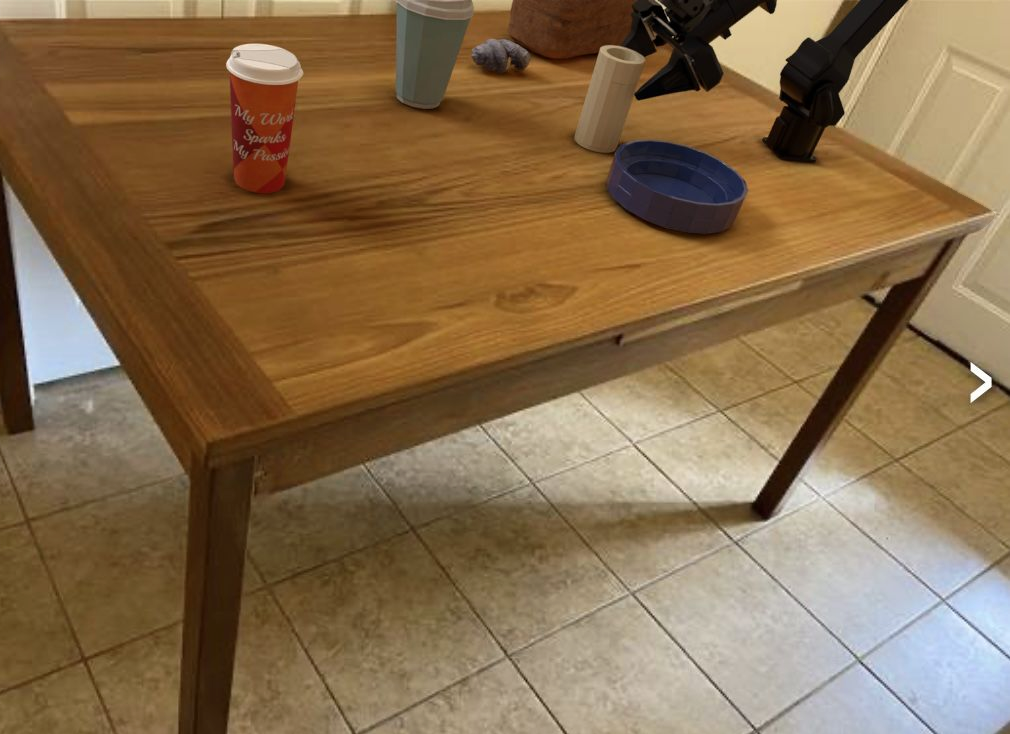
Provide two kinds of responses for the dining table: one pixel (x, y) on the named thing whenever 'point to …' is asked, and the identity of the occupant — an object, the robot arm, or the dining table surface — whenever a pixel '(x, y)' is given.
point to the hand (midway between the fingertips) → (621, 82)
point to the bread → (569, 25)
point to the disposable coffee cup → (428, 48)
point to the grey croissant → (500, 55)
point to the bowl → (676, 186)
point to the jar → (609, 98)
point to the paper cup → (262, 114)
